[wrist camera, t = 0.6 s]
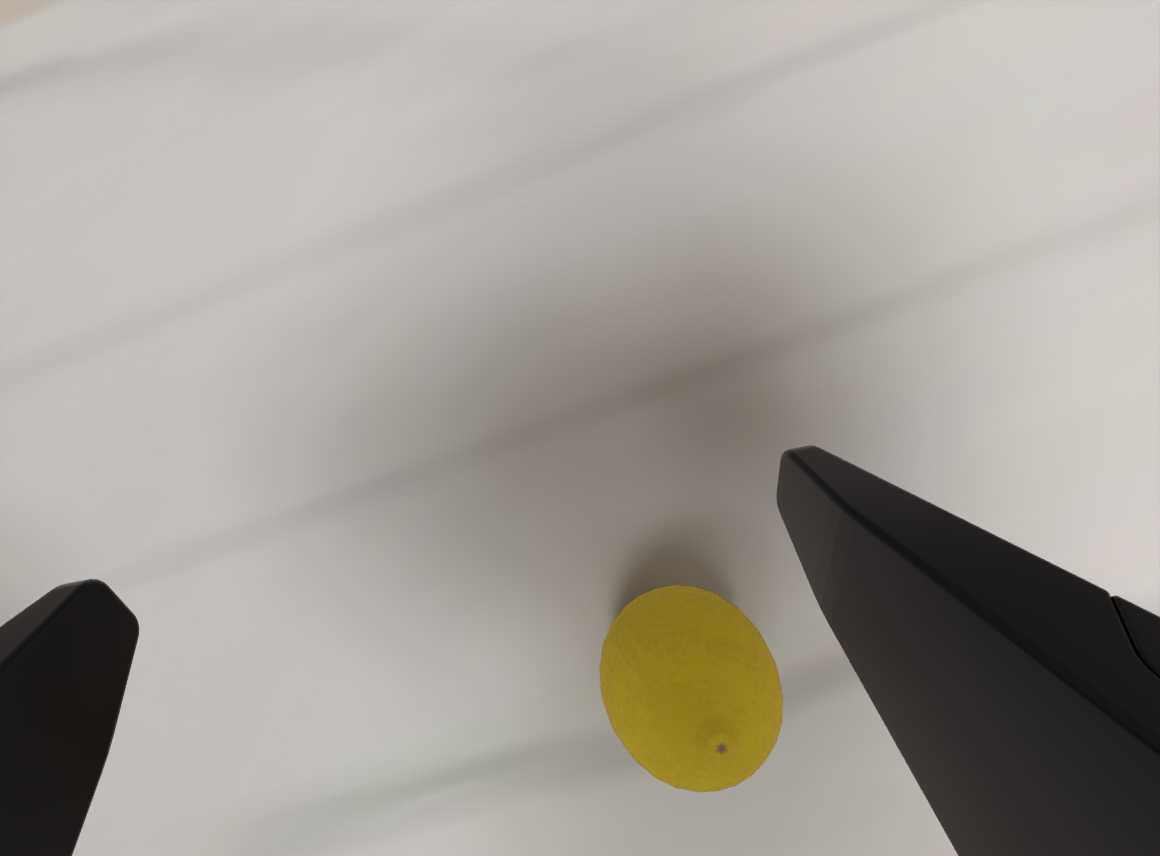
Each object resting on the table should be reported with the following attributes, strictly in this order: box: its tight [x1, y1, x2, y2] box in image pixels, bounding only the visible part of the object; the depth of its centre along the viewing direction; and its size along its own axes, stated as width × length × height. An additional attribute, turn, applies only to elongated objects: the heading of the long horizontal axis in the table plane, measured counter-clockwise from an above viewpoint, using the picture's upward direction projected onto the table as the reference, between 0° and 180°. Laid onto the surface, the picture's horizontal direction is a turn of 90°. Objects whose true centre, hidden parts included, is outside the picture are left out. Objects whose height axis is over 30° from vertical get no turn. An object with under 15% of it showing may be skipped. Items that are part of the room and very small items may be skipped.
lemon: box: [600, 585, 783, 792], centre depth 19 cm, size 6×6×8 cm
